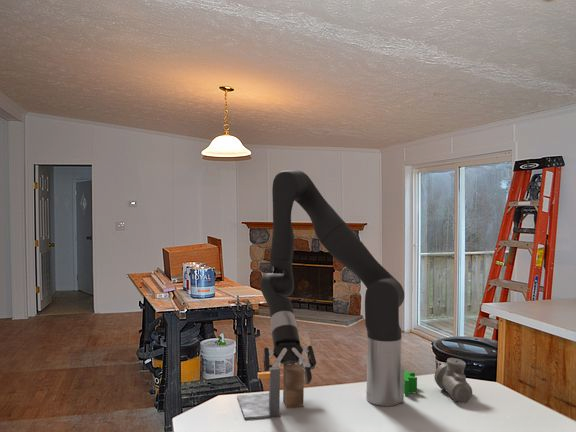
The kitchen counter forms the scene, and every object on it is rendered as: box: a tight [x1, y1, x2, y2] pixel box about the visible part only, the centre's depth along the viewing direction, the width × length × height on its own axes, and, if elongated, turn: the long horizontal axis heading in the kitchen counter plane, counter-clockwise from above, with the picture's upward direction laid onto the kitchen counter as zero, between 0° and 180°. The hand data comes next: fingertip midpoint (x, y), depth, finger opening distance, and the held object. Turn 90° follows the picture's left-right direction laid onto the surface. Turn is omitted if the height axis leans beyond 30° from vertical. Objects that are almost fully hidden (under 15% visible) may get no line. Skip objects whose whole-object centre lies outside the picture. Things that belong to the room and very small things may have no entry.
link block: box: [282, 363, 305, 409], centre depth 133 cm, size 4×4×10 cm
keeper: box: [236, 366, 281, 421], centre depth 131 cm, size 9×15×12 cm, turn 13°
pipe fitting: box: [433, 357, 473, 403], centre depth 140 cm, size 12×8×10 cm
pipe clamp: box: [404, 368, 418, 397], centre depth 145 cm, size 11×4×5 cm, turn 174°
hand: (293, 383), depth 133 cm, fingers open, 8 cm apart
